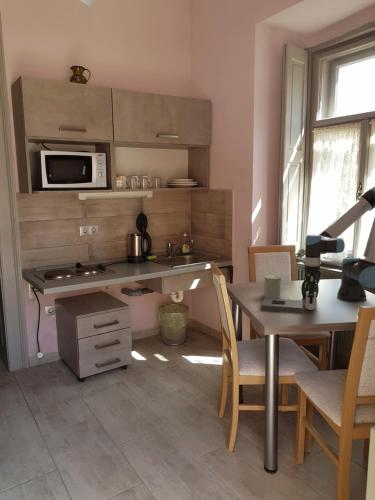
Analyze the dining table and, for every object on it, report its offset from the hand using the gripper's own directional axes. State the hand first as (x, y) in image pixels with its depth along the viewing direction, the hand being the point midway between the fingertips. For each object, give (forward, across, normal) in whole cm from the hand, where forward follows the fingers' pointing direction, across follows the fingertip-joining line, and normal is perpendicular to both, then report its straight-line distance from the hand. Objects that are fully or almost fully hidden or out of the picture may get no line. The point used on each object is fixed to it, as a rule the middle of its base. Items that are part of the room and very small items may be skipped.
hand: (310, 306), depth 206 cm
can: (+1, -16, -21) cm, 26 cm away
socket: (+1, +4, -14) cm, 15 cm away
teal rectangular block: (+1, 0, 0) cm, 1 cm away
